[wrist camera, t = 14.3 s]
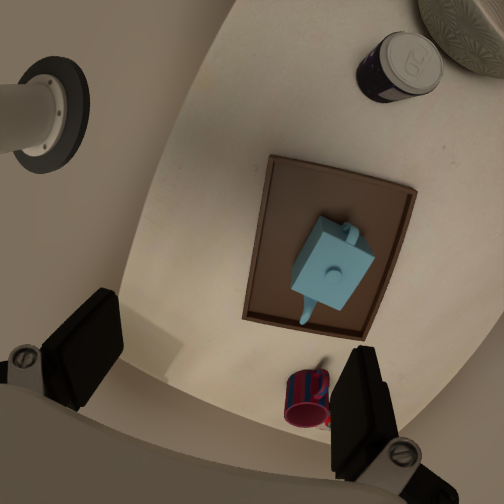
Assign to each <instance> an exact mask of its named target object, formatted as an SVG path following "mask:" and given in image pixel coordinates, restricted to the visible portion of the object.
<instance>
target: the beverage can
mask: <svg viewBox="0 0 504 504" xmlns="http://www.w3.org/2000/svg"><path fill="white" fill-rule="evenodd" d="M442 75H443V61H442V57H441V55H440V53H439V51H438V49H437V48H436V47H435V45H434V44H433V43H432V42H431V41H430V40H428V39H427V38H426V37H424V36H422V35H420V34H418V33H414V32H395V33H392V34H390V35H388V36H387V37H385V38H384V39H383V40H382V41H381V42H380V43H379V44H378V45H377V46H376V47H375V48H374V49H373V51H372V52H371V53H370V54H369V55H368V56H367V57H366V58H365V59H364V60H363V61H362V62H361V63H360V64H359V66H358V69H357V82H358V85H359V87H360V89H361V90H362V92H363V93H364V94H365V95H366V96H367V97H369V98H370V99H372V100H374V101H376V102H379V103H390V102H394V101H398V100H402V99H407V98H411V97H415V96H420V95H424V94H427V93H429V92H431V91H432V90H434V89H435V88H436V86H437V85H438V83H439V81H440V79H441V77H442Z"/></svg>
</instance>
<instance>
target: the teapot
mask: <svg viewBox="0 0 504 504" xmlns="http://www.w3.org/2000/svg"><path fill="white" fill-rule="evenodd" d="M374 258H375V256H374V254H373V252H372V250H371V248H370V246H369V244H368V242H367V240H366V239H365V238H364V237H362V236H360V235H359V229H358V228H357V227H355V226H353V225H351V224H350V223H349V222H345V223H344V224H343V225H342V226H341V225H339V224H337V223H335V222H333V221H331V220H329V219H327V218H325V217H323V216H321V215H320V216H319V218H318V220H317V222H316V224H315V226H314V228H313V229H312V231H311V233H310V235H309V237H308V239H307V241H306V242H305V244H304V246H303V248H302V250H301V252H300V253H299V255H298V257H297V259H296V261H295V263H294V264H293V266H292V278H291V289H292V290H294V291H297V292H299V293H301V294H303V295H304V310H303V314H302V316H301V319H300V324H302V325H303V324H305V323H306V322H307V321H308V319H309V318H310V316H311V313H312V311H313V309H314V307H315V305H316V303H317V301H319V302H321V303H323V304H326V305H328V306H330V307H332V308H335V309H337V310H339V311H340V310H341V309H342V307H343V306H344V305H345V303H346V302H347V300H348V299H349V297H350V296H351V294H352V293H353V291H354V290H355V288H356V287H357V285H358V284H359V282H360V281H361V279H362V278H363V276H364V275H365V273H366V271H367V270H368V268H369V267H370V265H371V263H372V262H373V260H374Z"/></svg>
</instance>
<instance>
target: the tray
mask: <svg viewBox="0 0 504 504" xmlns="http://www.w3.org/2000/svg"><path fill="white" fill-rule="evenodd" d="M417 193H418V191H416V190H415V189H413V188H411V187H408V186H404V185H401V184H397V183H394V182H390V181H387V180H383V179H379V178H375V177H372V176H368V175H364V174H360V173H356V172H352V171H348V170H343V169H339V168H335V167H330V166H326V165H321V164H317V163H312V162H307V161H302V160H297V159H292V158H287V157H282V156H276V155H270V156H269V159H268V165H267V171H266V177H265V183H264V189H263V195H262V201H261V207H260V213H259V219H258V224H257V230H256V236H255V242H254V248H253V254H252V260H251V266H250V272H249V278H248V284H247V290H246V296H245V302H244V308H243V314H242V319H243V320H247V321H252V322H257V323H262V324H267V325H272V326H277V327H282V328H287V329H292V330H298V331H303V332H309V333H314V334H320V335H326V336H332V337H338V338H344V339H351V340H357V341H365V339H366V337H367V335H368V332H369V330H370V328H371V326H372V323H373V321H374V319H375V316H376V314H377V311H378V309H379V307H380V304H381V302H382V299H383V297H384V294H385V291H386V289H387V286H388V284H389V281H390V278H391V275H392V273H393V270H394V267H395V264H396V262H397V259H398V256H399V253H400V250H401V247H402V244H403V241H404V238H405V234H406V231H407V228H408V225H409V221H410V218H411V215H412V211H413V208H414V204H415V200H416V197H417ZM320 215H321V216H323V217H325V218H327V219H329V220H331V221H333V222H335V223H337V224H339V225H341V226H342V225H343V224H344V223H345V222H349V223H350V224H351V225H353V226H355V227H357V228H358V229H359V235H360V236H362V237H364V238H365V239H366V240H367V242H368V244H369V246H370V248H371V250H372V252H373V254H374V256H375V258H374V260H373V262H372V263H371V265H370V267H369V268H368V270H367V271H366V273H365V275H364V276H363V278H362V279H361V281H360V282H359V284H358V285H357V287H356V288H355V290H354V291H353V293H352V294H351V296H350V297H349V299H348V300H347V302H346V303H345V305H344V306H343V307H342V309H341V310H340V311H339V310H337V309H335V308H332V307H330V306H328V305H326V304H323V303H321V302H319V301H317V303H316V305H315V307H314V309H313V311H312V313H311V316H310V318H309V319H308V321H307V322H306V323H305V324H303V325H302V324H300V319H301V316H302V314H303V310H304V295H303V294H301V293H299V292H297V291H294V290H292V289H291V278H292V266H293V264H294V263H295V261H296V259H297V257H298V255H299V253H300V252H301V250H302V248H303V246H304V244H305V242H306V241H307V239H308V237H309V235H310V233H311V231H312V229H313V228H314V226H315V224H316V222H317V220H318V218H319V216H320Z"/></svg>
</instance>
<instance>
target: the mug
mask: <svg viewBox="0 0 504 504" xmlns="http://www.w3.org/2000/svg"><path fill="white" fill-rule="evenodd" d="M329 379H330V378H329V373H328V371H327V370H325V369H319V370H318V371H312V370H305V371H300V372H297V373H295V374H293V375H292V376H291V377H290V378H289V379H288V381H287V388H286V399H285V409H284V418H285V420H286V421H287V422H288V423H290V424H291V425H294V426H297V427H303V428H309V427H315V426H318V425H320V424H322V423H324V422H325V421H326V420H327V419H328V417H329V393H328V387H329Z"/></svg>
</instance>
